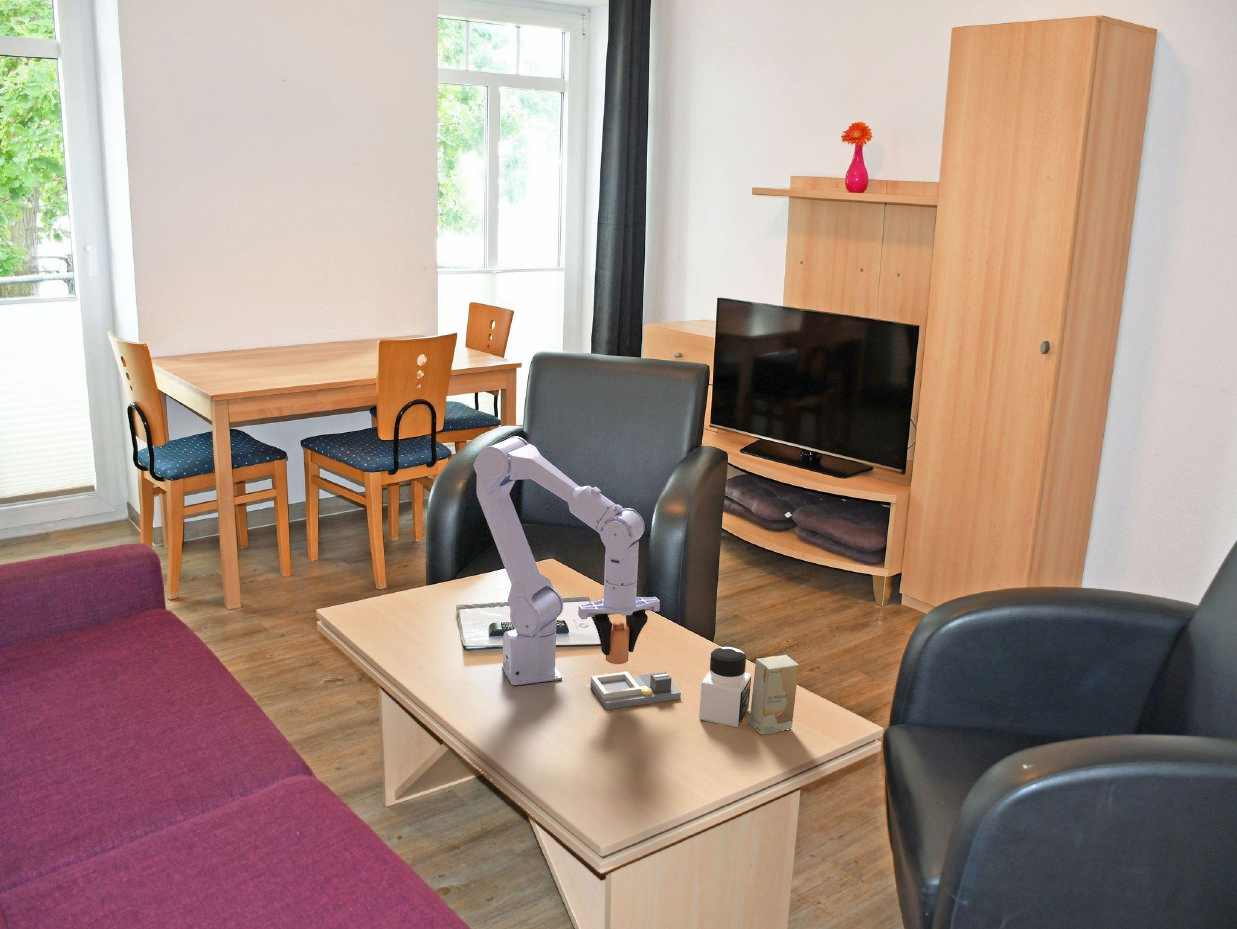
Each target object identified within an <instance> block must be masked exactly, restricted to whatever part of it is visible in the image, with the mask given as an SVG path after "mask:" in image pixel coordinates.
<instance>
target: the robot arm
mask: <svg viewBox="0 0 1237 929" xmlns="http://www.w3.org/2000/svg"><path fill="white" fill-rule="evenodd" d="M473 469H474V471H475V474H476V497H477V499H478V503H479V505H480V507H481V510H482V512H483V515H484V517H485V519H486V522H487V525H488V527H489V530H490V533H491V536H492V538H493V540H494V542H495V545H496V548H497V551H498V554H499V556H500V559H501V561H502V564H503V566H504V569H505V571H506V574H507V577H508V580H509V581H510V584H511V585H510V590H509V593H508V597H507V603H508V606H509V609H510V612H509V613H510V614H509V617H510V623H511V624H512V626H513V628H514V629H510V630H507V631H504V633H503V638H502V665H501V668H502V670H503V672H504V674H505V676H506V677H507V679H508V681H509V682H510V684H511V685H512V686H518V685H519V686H520V685H522V686H523V685H529V684H536V683H542V682H543V683H545V682H550V681H551V682H553V681H558V680H562V679H563V677H562V675H561V673H560V671H559V670H558V668H557V667H556V656H557V655H556V650H557V623H558V622H557V620H558V619H557V618H558V617H559V616H561V615H562V613H563V612H564V611H563V610H564V602H563V598H562V595H561V594H560V592H558V591H557V589H555V587H554V585H553V583H552V580H551V579H550V578H549V577H547V576H546V575H543V574H542V573H540V570H539V567H538V566H537V562H536V560H535V557H534V555H533V553H532V549H531V547H530V545H529V541H528V540H527V537H526V534H525V532H524V529H523V527H522V523H521V521H520V518H519V516H518V513H517V511H516V508H515V506H514V503H513V501H512V499H511V496H510V493H511V490H512V488H513V486H514V485H515V483H516V481H518V480H519V481H520V480H532V481H533V482H535V483H536V484H538V485H540V486H541V487H542V488H544V489H546V490H548V491H550V492H551V493H553V494H554V495H556V496H557V497H558V498H561V499H562V500H564V501H565V502H566V503H567V504H568V508H569V509H568V510H569V513H571V514H572V515H574V517H576V518H577V519H579V520H580V521H582V522H583V523H585V524H586V525H587V526H588V527H590V528H591V529H592V530H594V531H595V532H597V533H598V534H599V537H600V539H601V542H602V544H603V545H604V547H605V554H604V576H603V577H604V578H603V596H602V597H603V598H602V599H599V600H596V601H592V602H588V603H584V604H578V608H577V609H578V614H577V615H578V617H579V618H580V619H581V620H587V619H588V618H591V620H592V622H593V624H594V626H595V628H596V631H597V634H598V637H599V642H600V648H601V652H602V653H603V655H605V656H606V655H609V651H610V634H611V629H612V625H613V623H612V622H611V620H610V618H611V617H609V616H610V615H621V616H622V617H623V616H625V625H627V626H629V628H630V632H629V653H633V652H634V651H635V648H636V643H637V640H638V638H639V637H640V636H639V635H640V634H641V631H642V630H643V629H644V626H645V625H646V624H647V623H648V619H649V618H648V614H646V612H647V611H653V612H660V608H661V607H660V605H661V603H660V602H661V601H660V599H659V598H657V597H656V596H652V597H651V596H649V597H647V596H645V597H644V596H643V597H641V596H637V585H638V570H639V569H638V566H639V565H638V564H639V547H640V545H639V540H640V538H641V537H642V536H643V535H644V533H645V527H646V526H645V520H644V518H643V517H642V516H641V514H640V513H639V512H637V510H635V509H634V508H630V507H628V508H623V506H622V505H620V504H619V503H618V504H616V503H614V501H612V500H610V499H609V498H607V497H606V496H605V495H603V494H602V493H601V492H602V490H601V489H600V488H599V487H597V486H594V487H592V486H591V485H584V486H580V485H578V484H577V483H576V482H575V481H573V479H571V478H570V477H568V476H567V475H566V474H564V473H563V472H562V471H561V470H559V469H558V468H557V467H556V466H555V465H553V464H552V463H551V462H550V461H549V460H547V459H546V458H545V457H544V456H542V454H541V453H540V451H539V450H538V448H537V447H536V446H535V445H534V444H533V445H532V444H531V443H529V442H528V441H527V440H526V439H524V438H523V437H520V436H515V435H514V436H509V437H508V438H506V439H505V440H503V441H500V442H498V443H494V444H492V445H489V446H485V447H483V448H482V449H481V450H480V451H479V453H478V454H477V456H476V457H475V460H474V462H473Z"/></svg>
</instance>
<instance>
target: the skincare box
mask: <svg viewBox="0 0 1237 929" xmlns="http://www.w3.org/2000/svg"><path fill="white" fill-rule="evenodd" d="M754 665H755V667H754V674H753V676H754V677H753V683H752V684H753V685H752V692H751V693H752V694H751V704H750V714H749V725H751V726H752V727H753V729H754V730H756V731H757V733H759V734H760V735H768V734H774V733H779V732H778V731H781V732H784V731H783V730H787V729H791V728H792V729H793V722H794V711H795V704H796V703H795V702H796V694H797V685H798V677H799V668H800V667H799V665H800V664H799V663H797V661H795V660H793V659H792V658H791V657H790V656H789V655H787V654H783V655H782V654H781V655H776V656H775V655H773V656H766V657H762V658H756V659H755V664H754ZM792 729H791V730H792ZM787 731H788V730H787Z"/></svg>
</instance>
